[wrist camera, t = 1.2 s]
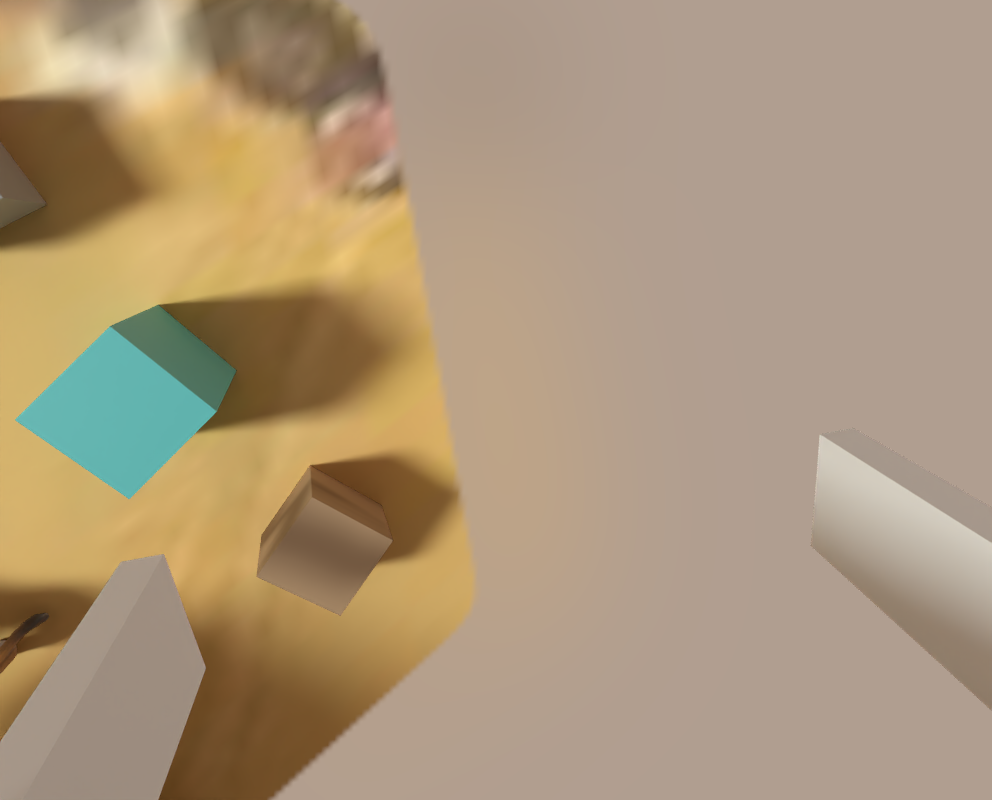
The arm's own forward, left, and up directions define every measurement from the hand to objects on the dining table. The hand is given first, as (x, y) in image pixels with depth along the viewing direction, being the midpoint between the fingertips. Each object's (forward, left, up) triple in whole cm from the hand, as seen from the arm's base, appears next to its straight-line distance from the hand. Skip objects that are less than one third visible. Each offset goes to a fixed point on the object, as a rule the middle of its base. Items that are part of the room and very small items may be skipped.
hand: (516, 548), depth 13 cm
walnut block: (-9, -5, -26) cm, 28 cm away
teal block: (-8, +7, -25) cm, 28 cm away
